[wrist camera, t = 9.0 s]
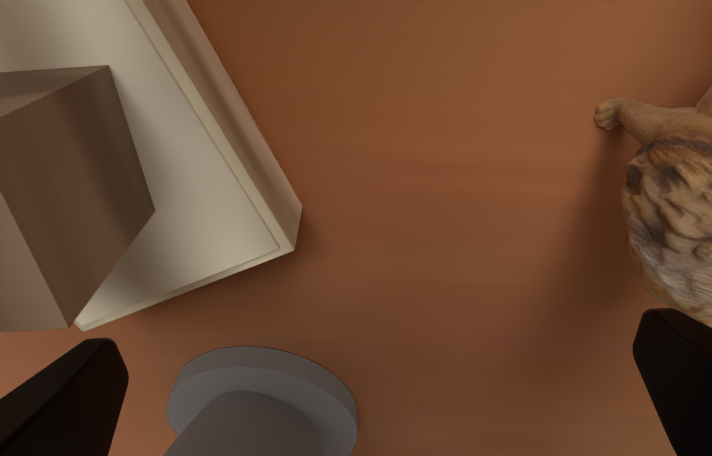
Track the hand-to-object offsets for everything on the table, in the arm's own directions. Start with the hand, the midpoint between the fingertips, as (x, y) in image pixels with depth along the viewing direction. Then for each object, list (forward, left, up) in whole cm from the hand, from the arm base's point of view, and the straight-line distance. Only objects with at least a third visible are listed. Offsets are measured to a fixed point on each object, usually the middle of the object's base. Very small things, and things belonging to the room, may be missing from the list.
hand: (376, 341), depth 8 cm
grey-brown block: (+10, -1, -9) cm, 13 cm away
